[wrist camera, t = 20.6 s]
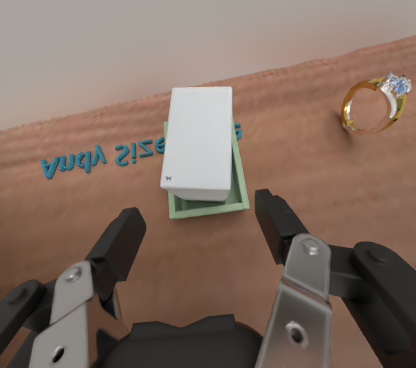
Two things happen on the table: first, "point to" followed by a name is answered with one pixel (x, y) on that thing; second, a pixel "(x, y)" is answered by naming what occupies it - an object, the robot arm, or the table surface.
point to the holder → (234, 202)
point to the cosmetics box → (199, 144)
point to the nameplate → (50, 171)
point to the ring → (393, 94)
